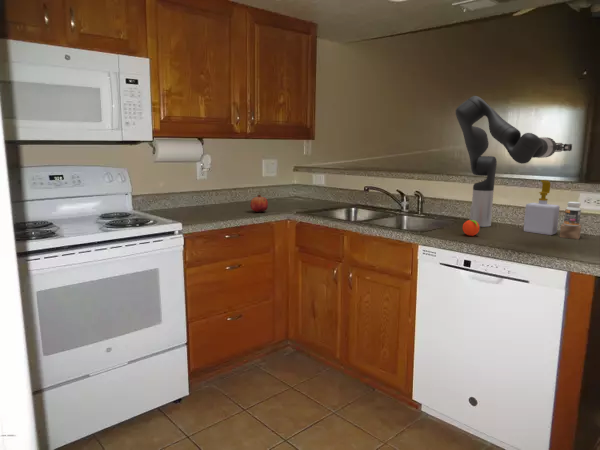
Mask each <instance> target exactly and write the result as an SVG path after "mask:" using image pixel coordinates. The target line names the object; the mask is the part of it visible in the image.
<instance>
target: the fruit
mask: <svg viewBox="0 0 600 450" xmlns="http://www.w3.org/2000/svg"><path fill="white" fill-rule="evenodd" d="M268 208H269V201H268V200H267V198H266V197H264V196H262V195H261V194H257V196H255V197H253V198H252V199H251V201H250V209H251V211H253V212H257V213H263V212H266V211H267V210H268Z"/></svg>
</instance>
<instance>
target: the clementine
mask: <svg viewBox="0 0 600 450" xmlns="http://www.w3.org/2000/svg"><path fill="white" fill-rule="evenodd" d="M480 228H481V227H480V226H479V224H478V223H477V222H476V221H475V220H472V219H471V220H470V219H469V220H465V221H464V223H463V224H462V231H463V233H464V234H465V235H467V236H471V237H473V236H475V235H477V234H478V233H479V232H480Z"/></svg>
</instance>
